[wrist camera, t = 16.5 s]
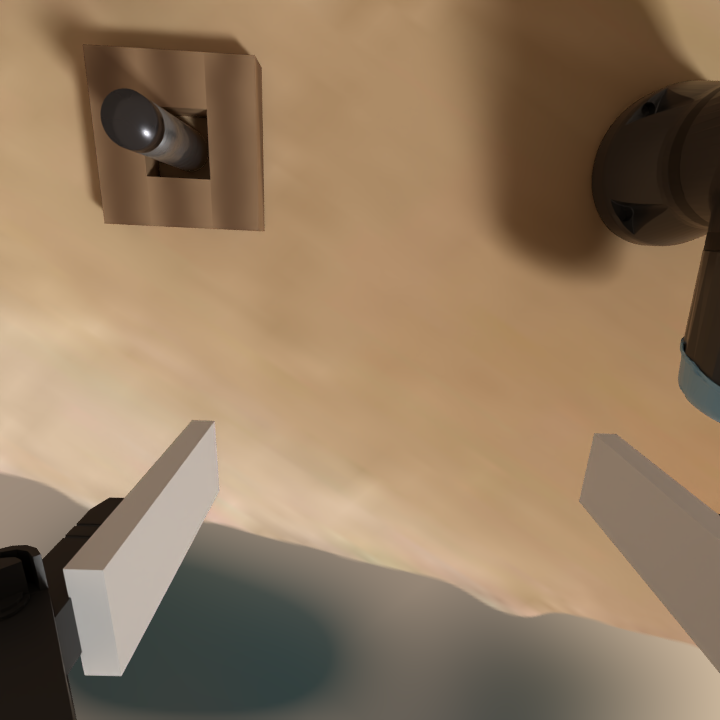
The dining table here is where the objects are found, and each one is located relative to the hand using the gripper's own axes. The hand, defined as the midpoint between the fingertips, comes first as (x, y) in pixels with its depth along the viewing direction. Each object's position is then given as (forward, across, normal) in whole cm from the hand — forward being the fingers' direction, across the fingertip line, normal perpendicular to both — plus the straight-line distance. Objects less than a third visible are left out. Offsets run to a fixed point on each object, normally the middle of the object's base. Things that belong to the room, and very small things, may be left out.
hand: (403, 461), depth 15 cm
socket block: (+34, -19, +15) cm, 42 cm away
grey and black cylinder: (+34, -19, +15) cm, 42 cm away
